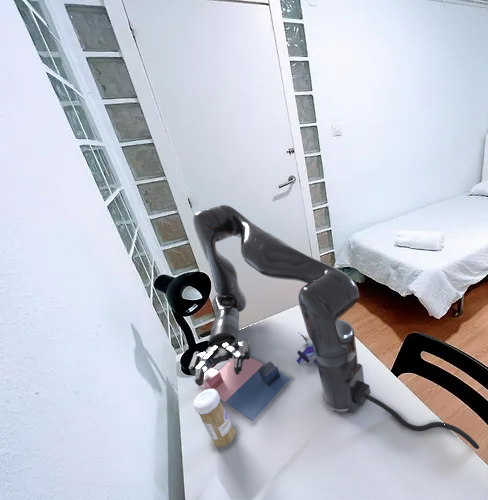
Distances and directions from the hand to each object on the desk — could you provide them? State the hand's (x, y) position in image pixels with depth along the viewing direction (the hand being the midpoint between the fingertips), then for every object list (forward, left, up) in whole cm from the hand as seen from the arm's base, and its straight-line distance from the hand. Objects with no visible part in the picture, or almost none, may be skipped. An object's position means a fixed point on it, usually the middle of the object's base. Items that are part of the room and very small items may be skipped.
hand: (218, 377), depth 66 cm
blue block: (-5, -10, -8) cm, 14 cm away
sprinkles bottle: (-7, +6, -9) cm, 13 cm away
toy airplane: (-10, -23, -9) cm, 26 cm away
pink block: (+8, -1, -8) cm, 11 cm away
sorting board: (0, -6, -8) cm, 10 cm away
